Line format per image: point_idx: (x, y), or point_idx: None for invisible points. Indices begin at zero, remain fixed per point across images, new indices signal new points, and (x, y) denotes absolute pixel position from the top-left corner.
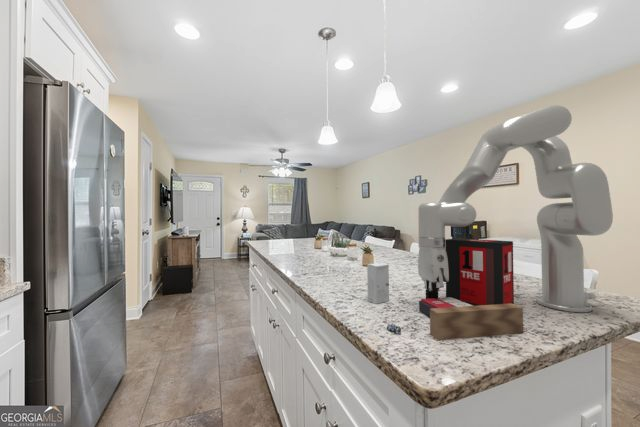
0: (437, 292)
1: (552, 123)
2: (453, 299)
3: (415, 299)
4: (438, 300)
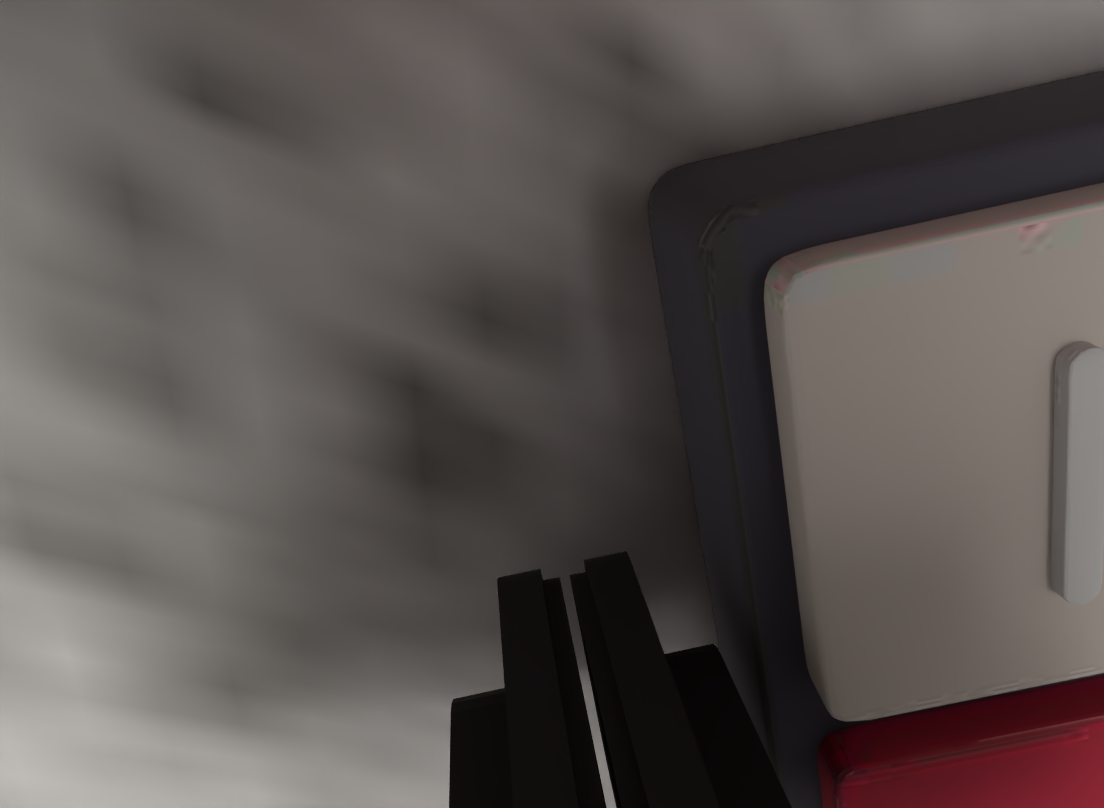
0: (700, 776)
1: None
2: (1087, 337)
3: (45, 795)
4: (1088, 773)
